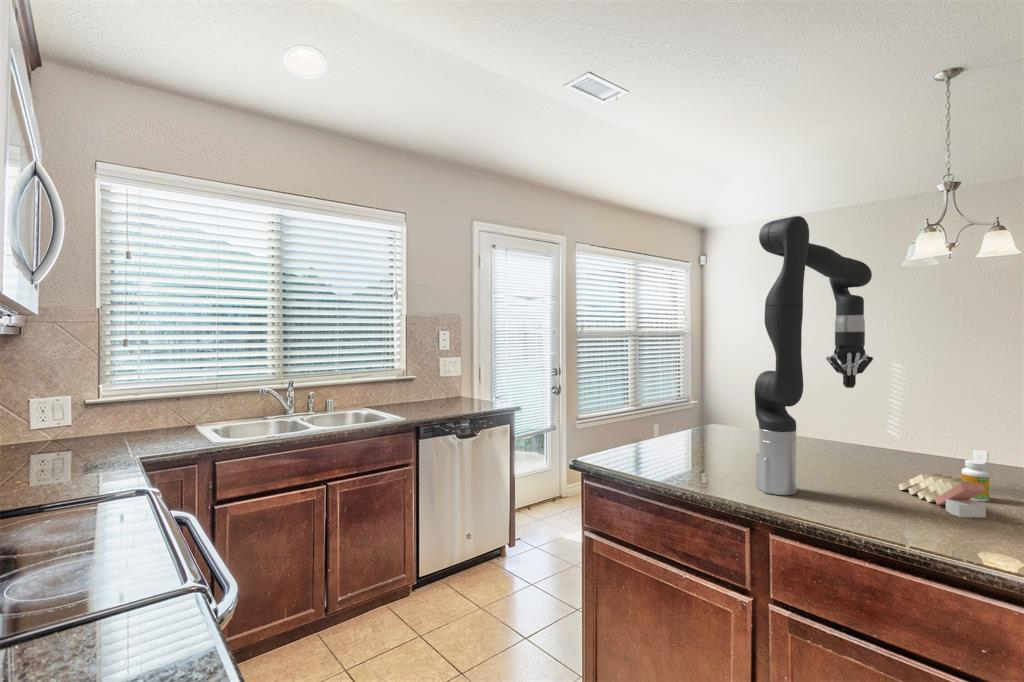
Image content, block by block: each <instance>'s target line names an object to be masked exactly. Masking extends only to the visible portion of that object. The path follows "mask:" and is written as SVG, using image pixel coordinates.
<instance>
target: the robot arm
mask: <svg viewBox="0 0 1024 682" xmlns="http://www.w3.org/2000/svg"><path fill="white" fill-rule="evenodd" d="M758 233H759V234H758V241H759V243H760V246H761V247H762V249H763V250H764V251H766V252H767V253H769V254H773V255H775V256H779V257H783V262H782V263H783V264H782V267H781V271H780V273H779V275H778V276H777V277H776V280H775V282H773V285H772V286H771V288H770V290H769V291H768V294H767V296H766V298H765V301H764V302H765V303H764V325H765V330H766V332H767V335H768V337H769V340H770V342H771V344H772V347H773V349H774V355H775V370H765V371H762V372H761V373H760V374H759V375H758V376H757V378H756V380H755V384H754V405H755V407H754V408H755V417H756V419H757V421H758V452H757V453H756V454H755V488H757V489H759V490H760V491H762V492H763V493H764V494H771V495H777V496H791V495H795V494H797V421H796V420H795V418H794V417H793V416H792V415H790V414H789V412H788V411H787V409H786V407H789V408H790V407H794V406H796V405H797V404H799V402H800V400H801V399H802V397H803V393H804V375H803V374H804V373H803V362H802V361H803V357H802V333H803V332H802V331H803V330H802V329H803V328H802V327H803V317H804V316H803V314H804V284H805V271H806V267H808V268H810V269H812V270H814V271H815V272H817V273H819V274H821V275H822V276H824V277H827V278H829V280H828V281H829V284H830V287H831V290H832V294H833V296H834V300H835V322H834V345H835V349H834V351H833V354H832V355H830V356H827V357H826V361H827V362H828V364H830V366H831V367H832V368H833V370H834V371H835V372H836V373H838V374H841V375H842V384H843V387H844V388H847V389H854V387H856V383H857V381H856V380H857V379H856V378H857V377H856V376H857V375H858V374H863V372H864V371H865V370H866V369H867V368H868V367H869V366H870V364H871V363H872V361H873V360H874V358H873V356H869V355H868V354H866V349H865V346H866V345H865V343H866V341H865V337H866V322H865V300H864V297H862V296H861V295H856V294H852V293H851V292H850V290H849V288H860V287H861V288H862V287H864V286H866V285H868V284H869V283H870V282H871V280H872V277H873V276H872V275H873V274H872V273H873V272H872V270H871V268H870V267H869V266H868V264H866V263H865V262H863V261H861V260H857V259H854V258H851V257H845V256H843V255H842V254H840V253H838V252H836V251H835V250H834V249H831V248H829V247H826V246H824V245H820V244H815V243H811V242H810V227H809V223H808V222H807V220H806V218H804V217H803V216H800V215H794V216H789V217H785V218H780V219H775V220H772V221H769V222H767V223H765V224H763V226H762V227H761V228H760V231H759V232H758ZM839 362H840V363H839Z"/></svg>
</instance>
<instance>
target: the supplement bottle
mask: <svg viewBox="0 0 1024 682" xmlns="http://www.w3.org/2000/svg"><path fill="white" fill-rule="evenodd" d="M986 464H987V463H986V462H985V461H981V460H975V459H966V460H964V466H965V467H963V468H962V469H961V473H960V474H961V476H960V477H961V478H960V479H962V480H963V481H964V482H972V484H983V486H984V487H985V489H986V491H984V492H982V493H980V494H978V495H976V496H974V497H972V498H971V499H972V500H974V501H977V502H980V503H982V502H985V503H986V502H988V501H989V500H990V473H989V472H988V471H987V470H986V466H987V465H986Z"/></svg>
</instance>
